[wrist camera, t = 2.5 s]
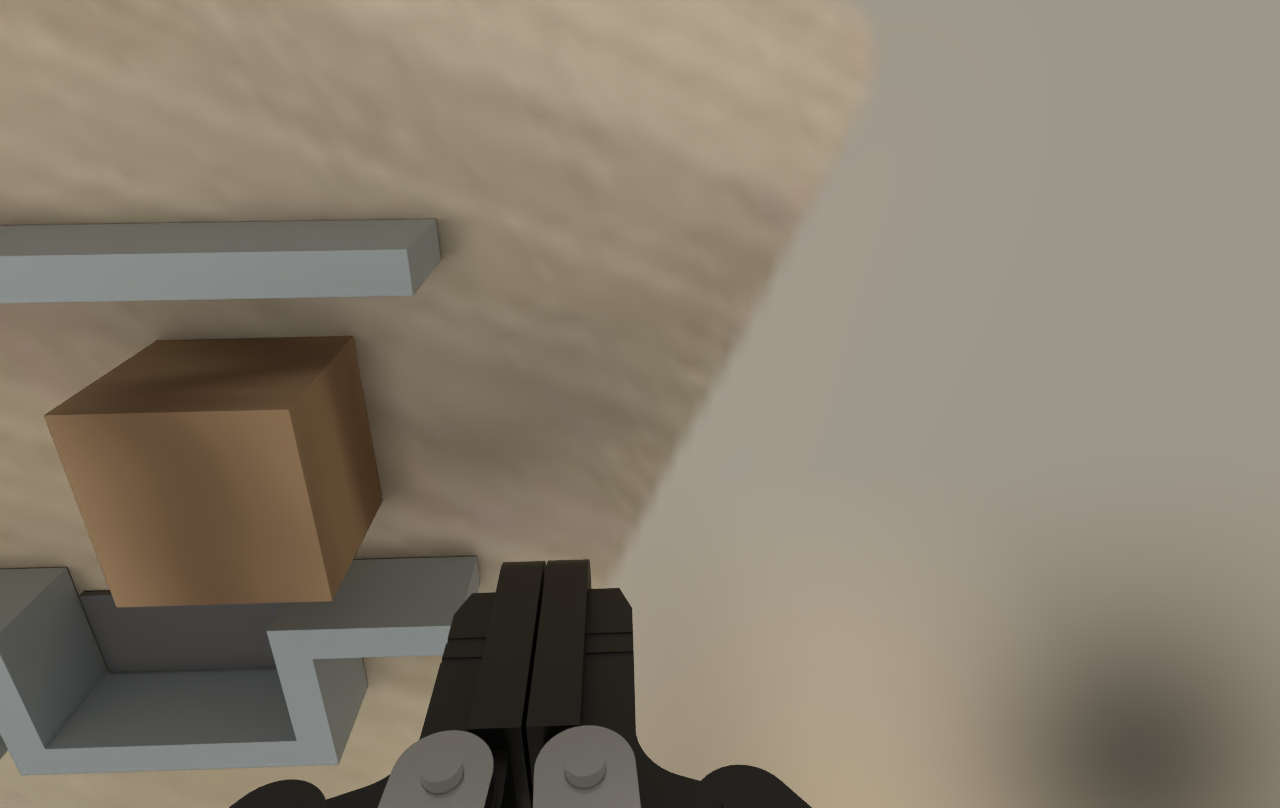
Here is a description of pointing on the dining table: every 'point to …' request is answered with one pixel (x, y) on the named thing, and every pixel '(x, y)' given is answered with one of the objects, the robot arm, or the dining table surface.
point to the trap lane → (225, 633)
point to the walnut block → (223, 470)
